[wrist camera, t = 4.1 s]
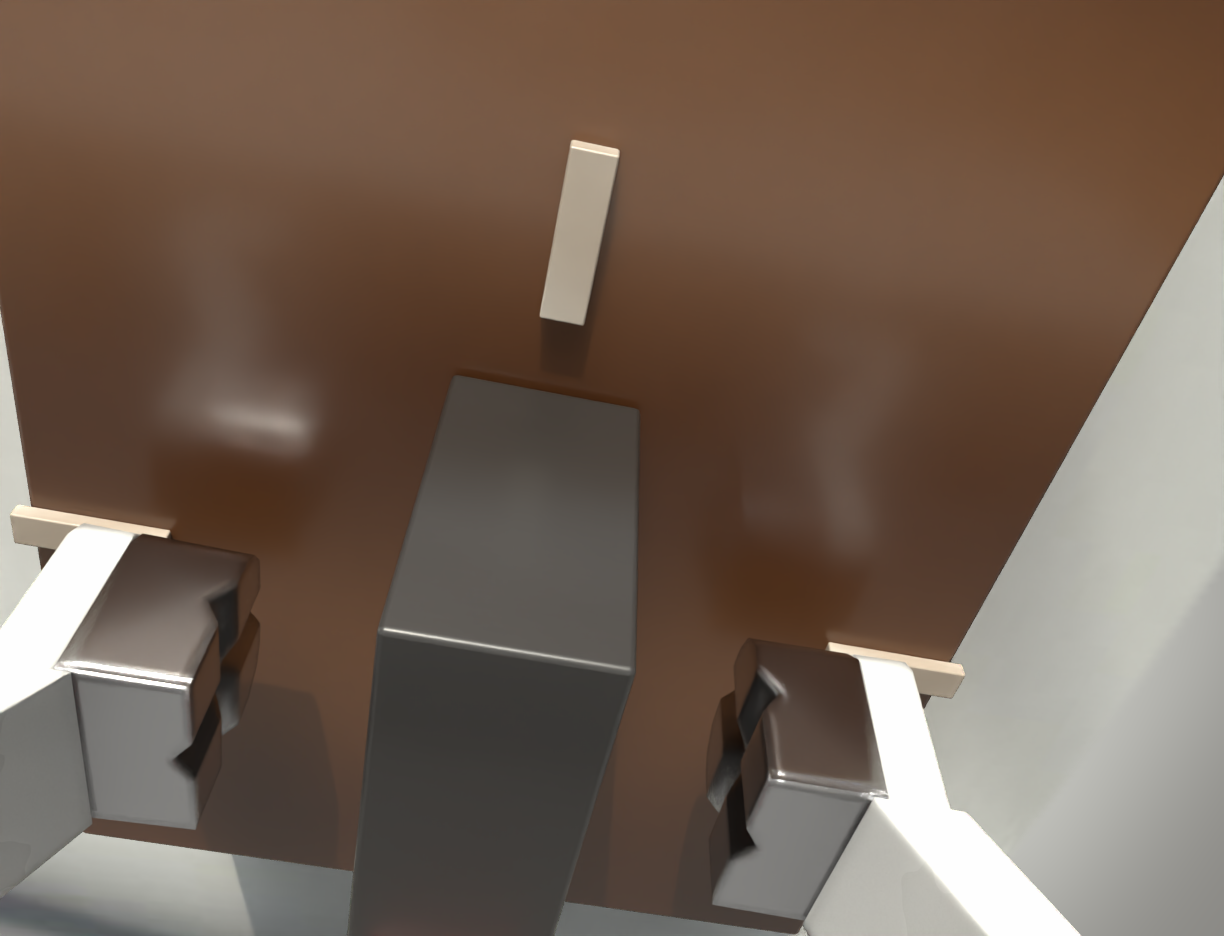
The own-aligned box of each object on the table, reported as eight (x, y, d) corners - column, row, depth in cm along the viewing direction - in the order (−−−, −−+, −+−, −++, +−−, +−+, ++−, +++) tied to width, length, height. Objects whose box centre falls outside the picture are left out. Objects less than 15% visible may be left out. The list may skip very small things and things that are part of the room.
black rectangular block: (452, 371, 9) (367, 659, 6) (641, 407, 9) (637, 702, 6) (402, 754, 12) (330, 1060, 9) (545, 775, 12) (515, 1083, 9)
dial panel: (65, -786, 7) (-263, -1055, 5) (1326, -436, 8) (1647, -497, 5) (164, 652, 15) (65, 845, 13) (782, 750, 16) (807, 949, 14)
